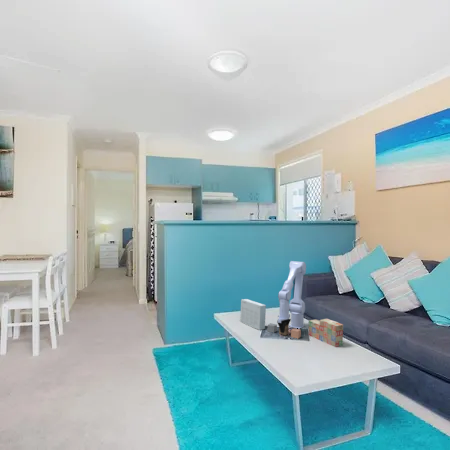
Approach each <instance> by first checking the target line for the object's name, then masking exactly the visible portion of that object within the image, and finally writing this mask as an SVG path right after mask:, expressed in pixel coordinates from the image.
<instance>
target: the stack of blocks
mask: <svg viewBox="0 0 450 450" xmlns="http://www.w3.org/2000/svg"><path fill="white" fill-rule="evenodd" d="M308 336H310V337H312V338H314V339H317V340H319V341H321V342H323V343H325V344H328V345H330V346H332V347H334V348H337V347H341V346H343V341H344V340H343V339H344V324H343V323H340V322H338V321H335V320H332V319H329V318H323V319H320V320H319V319H311V320H308Z"/></svg>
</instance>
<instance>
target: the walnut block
mask: <svg viewBox="0 0 450 450" xmlns="http://www.w3.org/2000/svg"><path fill="white" fill-rule="evenodd" d="M289 326H290V325H288V324H286V325H285V330H284V333H281V332H280V328H279V327H278V332H279V333H278V334H279V335H281V334H282V335H283V336H287V335H288V333H290V332H289V329H290V327H289Z"/></svg>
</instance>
